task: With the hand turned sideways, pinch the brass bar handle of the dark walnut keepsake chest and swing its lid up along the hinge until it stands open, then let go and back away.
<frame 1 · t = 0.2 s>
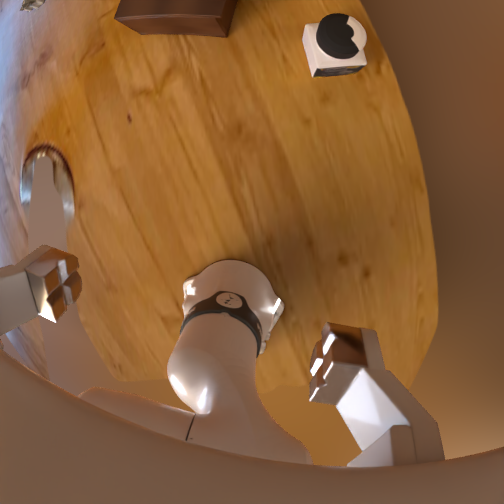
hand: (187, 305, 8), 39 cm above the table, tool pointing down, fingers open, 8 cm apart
medicine bottle: (328, 56, 36), on the table
chest: (191, 4, 34), on the table
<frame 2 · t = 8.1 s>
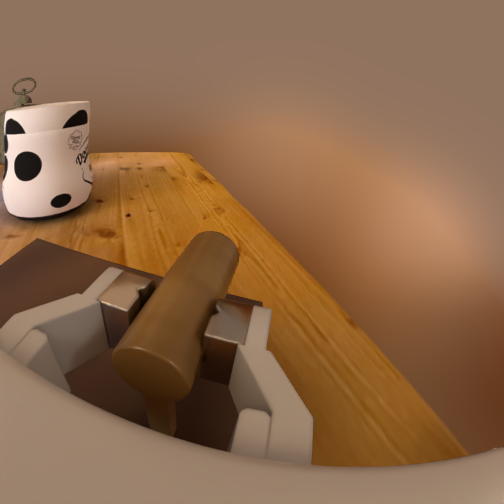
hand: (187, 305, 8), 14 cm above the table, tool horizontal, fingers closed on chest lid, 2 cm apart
tabletop clock: (22, 175, 54), on the table
milk container: (48, 208, 41), on the table
chest lid: (55, 297, 10), point 12 cm above the table, hinge at 0.0°, touching gripper
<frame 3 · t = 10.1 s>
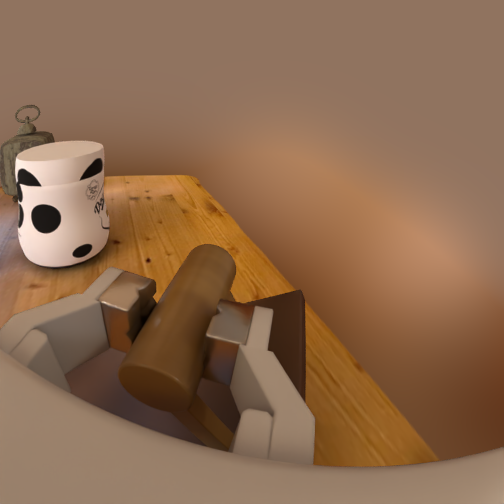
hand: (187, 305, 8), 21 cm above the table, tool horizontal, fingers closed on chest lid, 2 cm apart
tabletop clock: (29, 205, 56), on the table
milk container: (66, 250, 44), on the table
chest lid: (104, 367, 11), point 16 cm above the table, hinge at 32.1°, touching gripper
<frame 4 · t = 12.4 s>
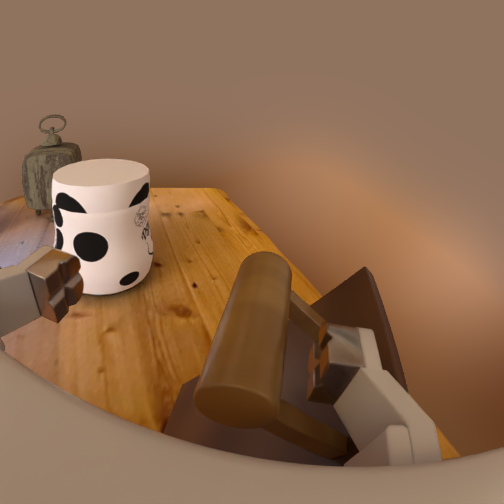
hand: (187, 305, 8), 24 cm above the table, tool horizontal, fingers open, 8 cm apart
tabletop clock: (55, 219, 58), on the table
milk container: (105, 274, 46), on the table
chest lid: (196, 409, 11), point 18 cm above the table, hinge at 57.1°, touching gripper
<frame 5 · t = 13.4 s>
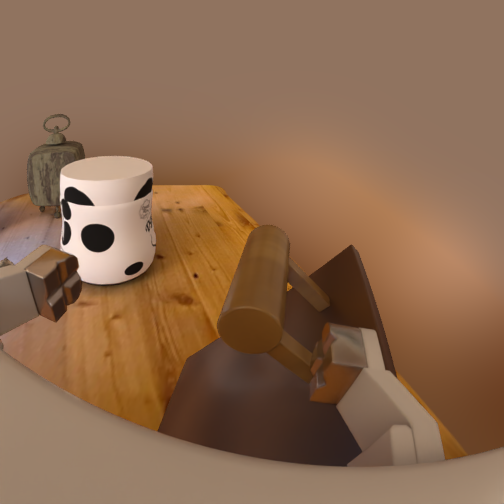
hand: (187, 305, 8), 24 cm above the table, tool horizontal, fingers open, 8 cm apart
tabletop clock: (58, 215, 60), on the table
milk container: (109, 265, 48), on the table
chest lid: (206, 364, 14), point 18 cm above the table, hinge at 55.6°
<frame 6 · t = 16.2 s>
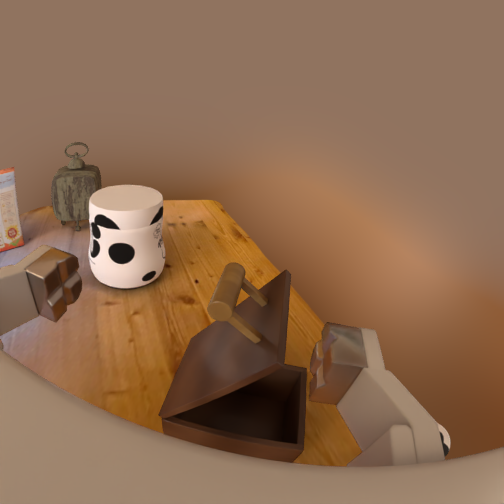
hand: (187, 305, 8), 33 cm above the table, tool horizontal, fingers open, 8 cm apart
tabletop clock: (78, 228, 74), on the table
chest: (232, 425, 36), on the table
milk container: (127, 273, 61), on the table
cracker box: (3, 247, 57), on the table
chest lid: (203, 333, 27), point 18 cm above the table, hinge at 55.6°
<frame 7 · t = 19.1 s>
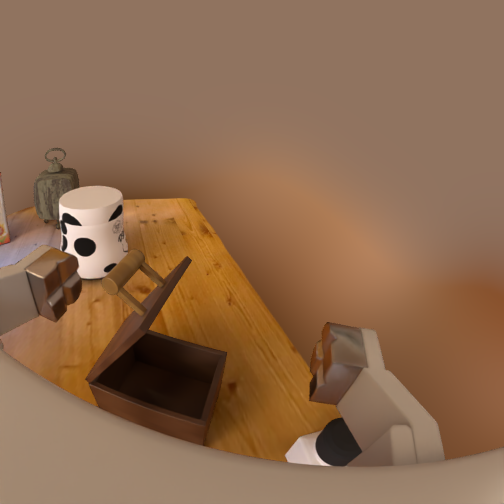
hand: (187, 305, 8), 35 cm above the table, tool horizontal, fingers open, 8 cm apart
medicine bottle: (313, 468, 33), on the table
tabletop clock: (59, 226, 77), on the table
chest: (163, 401, 39), on the table
milk container: (95, 265, 65), on the table
chest lid: (116, 309, 31), point 18 cm above the table, hinge at 55.6°
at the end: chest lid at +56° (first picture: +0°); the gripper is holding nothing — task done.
